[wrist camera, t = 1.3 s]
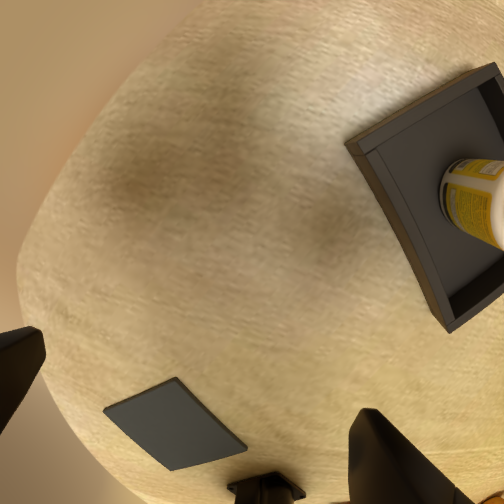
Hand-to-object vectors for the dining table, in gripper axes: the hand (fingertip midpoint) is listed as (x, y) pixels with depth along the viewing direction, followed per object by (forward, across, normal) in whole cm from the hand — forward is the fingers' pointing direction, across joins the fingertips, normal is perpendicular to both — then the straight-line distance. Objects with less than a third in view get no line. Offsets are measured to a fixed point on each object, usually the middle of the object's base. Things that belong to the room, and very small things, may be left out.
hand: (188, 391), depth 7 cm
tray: (+13, -14, -7) cm, 20 cm away
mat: (+13, +3, +19) cm, 23 cm away
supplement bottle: (+13, -14, -7) cm, 20 cm away
